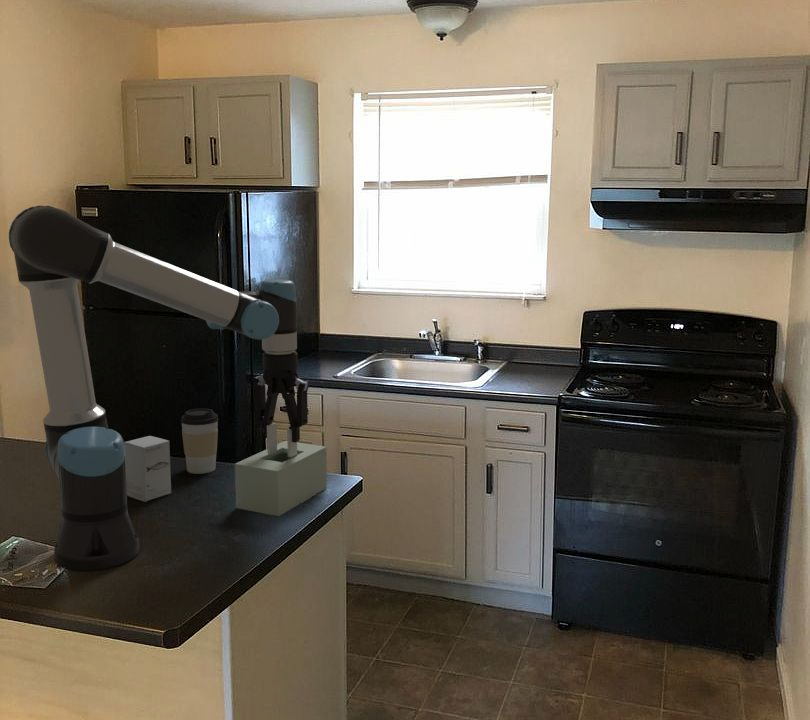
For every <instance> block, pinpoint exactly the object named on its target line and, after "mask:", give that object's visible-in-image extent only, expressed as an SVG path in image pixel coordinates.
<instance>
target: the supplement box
mask: <svg viewBox="0 0 810 720" xmlns="http://www.w3.org/2000/svg"><path fill="white" fill-rule="evenodd" d="M123 442H124V447H125V451H126V455H125V470H126V490H127V497H130V498H133V499H135V500H139V501H141V502H144V503H146V502H148V501H151V500H153V499H157V498H160V497H164V496H167V495H170V494H171V493H172V481H171V478H172V477H171V475H172V474H171V455H170V454H171V452H170V440H169V439H168V440H167V439H164V438H161V437H156V436H152V435H148V436H143V437H139V438H136V439H132V440H131V439H130V440H128V441H123Z"/></svg>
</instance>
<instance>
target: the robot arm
mask: <svg viewBox="0 0 810 720" xmlns="http://www.w3.org/2000/svg"><path fill="white" fill-rule="evenodd" d="M10 224H11V225H10V227H9V230H8V243H9V247H10V248H11V250H12V252H13V255H14V261H15V266H16V272H17V278H18V282H19V284H21V285H22V286H24V287H25V288H26V289H28V291H29V296H30V302H31V308H32V313H33V318H34V319H33V320H34V326H35V332H36V336H37V341H38V348H39V349H38V350H39V356H40V360H41V366H42V372H43V377H44V384H45V389H46V390H45V391H46V395H47V401H48V406H49V412H48V413H47V414H46V415H45V416H44V418H43V429H44V434H45V449H44V450H45V453H46V458H47V461H48V463H49V464H50V466H51V467H52V469H53V471H54V472H55V474H56V476H57V479H58V481H59V491H60V492H59V493H60V506H61V523H60V526H59V529H58V535H57V540H56V542H55V544H54V548H53V552H54V553H53V554H54V562H55V561H56V562H55V564H56V565H58V566H59V565H60V568H61V567H62V568H63V569H66V570H71V571H97V570H105V569H109V568H113V567H117V566H120V565H123V564H125V563H127V562H129V561H132V559H134V558H135V557H136V556H137V555H138V554H139V552H140V539H139V535H138V533H137V532H136V531H135V528H134V524H133V521H132V520H131V519H132V518H131V517H130V514H129V511H128V496H127V490H126V470H125V455H126V451H125V447H124V442H125V441H124V439H123V437H122V435H121V434H120V433H119V432H117V431H116V430H114V429H111V428H109V425H108V420H107V413H106V409H105V408H103V407H102V406H101V405H99V404H97V402H96V397H95V391H94V382H93V377H92V376H93V375H92V370H91V364H90V357H89V352H88V351H89V350H88V344H87V339H86V333H85V325H84V319H83V314H82V307H81V300H80V299H81V298H80V293H79V288H78V285H79V282H80V281H82V282H85V283H87V284H93V283H96V282H101V283H103V284H106V285H108V286H112V287H115V288H117V289H119V290H123V291H125V292H128V293H131V294H134V295H136V296H138V297H142V298H144V299H147V300H149V301H152V302H155V303H159V304H161V305H164V306H166V307H168V308H172V309H174V310H177V311H180V312H182V313H186V314H188V315H191V316H194V317H196V318H198V319H201V320H204V321H205V322H206V325H207V327H209V328H210V329H212V330H224V329H228V330H230V331H234V332H237V333H239V334H242V335H244V336H246V337H248V338H249V339H253V340H261V349H262V351H263V353H262V368H263V370H264V371H263V373H262V375H258V376H255V377H253V378H252V379H251V381H252V385H253V387H254V406H255V420H256V421H257V422H259V421H260V422H261V423H262V424H263V433H264V434H263V437H264V439H266V444H267V447H266V449H267V452H268V454H272V453H274V452H276V451H277V444H278V436H277V434H278V433H277V432H278V431H277V429H278V428H277V422H275V413H276V407H277V403H278V398H279V395H281V397H282V399H283V400H284V404H285V408H286V409H285V410H286V412H287V413H286V414H287V418H288V422H289V426H288V428H286V432H287V433H286V436H287V437H286V438H287V440H286V441H287V445H288V457H293V456H295V455H297V442H298V443H299V441H300V440H301V434H300V433H301V431H300V430H301V427H303V426H306V425H307V424H308V420H309V419H308V418H309V417H308V390H309V387H310V382H309V380H306V381H304V380H303V379H300V378H299V375H298V373H297V371H298V367H299V366H298V352H297V351H296V350H297V349H298V335H297V333H298V332H297V331H298V328H297V302H298V301H297V289H296V285H295V283H294V282H293V281H292V280H288V279H281V278H280V279H279V278H277V279H267V280H266V279H265V280H262V281H261V282H260V287H259V289H257V290H251V291H250V290H249V291H238V290H236V289H234V288H231V287H229V286H226V285H225V284H221V283H219V282H216V281H214V280H211V279H209V278H206V277H203V276H200V275H199V274H196V273H193V272H191V271H188V270H186V269H184V268H180V267H179V266H175V265H173V264H171V263H169V262H166V261H163V260H161V259H158V258H156V257H153V256H150V255H149V254H145V253H143V252H140V251H138V250H136V249H133V248H130V247H128V246H125V245H122V244H120V243H118V242H116V241H114V240H113V239H112V236H111V234H110V233H108V232H105V231H103V230H101V229H98V228H95V227H94V226H91V225H90V224H88V223H86V222H85V221H82V220H81V219H79V218H77V217H76V216H75V215H72V214H71V213H69V212H68V211H66V210H63V209H62V208H59V207H58V208H57V207H54V206H51V205H36V206H31V207H30V206H29V208H26V209H24V210H22V211H21V212H20V213H18V214H17V215H16V216H15V218H14V219H13V221H12V222H11V223H10ZM266 386H267V389H266ZM295 386H296V387H295ZM295 389H296V390H295ZM295 396H296V397H295Z"/></svg>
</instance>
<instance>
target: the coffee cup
mask: <svg viewBox="0 0 810 720" xmlns="http://www.w3.org/2000/svg"><path fill="white" fill-rule="evenodd" d="M218 416H219V415H218V414H217V413H215V412H214V410H213V409H211V408H192V409H189V410H186V411H185V413H184V414H183V415H182V416H181V417H180V423H181V428H182V429H181V434H182V435H181V437H182V443H183V452H184V455H185V463H186V471H187V472H188V473H190V474H194V475H195V474H196V475H198V474H199V475H200V474H201V475H202V474H209V473H211V472H213V471H215V470H216V464H217V461H216V460H217V452H218V451H217V450H218V449H217V448H218V437H219V435H218V432H219V429H218V425H219V424H218V423H219V422H218V421H219V417H218Z"/></svg>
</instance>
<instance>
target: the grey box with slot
mask: <svg viewBox="0 0 810 720" xmlns="http://www.w3.org/2000/svg"><path fill="white" fill-rule="evenodd" d="M327 468H328V467H327V446H323V445H316V444H311V443H304V442H299V441H298V442H297V455H295V456H293V457H288V445H287V440H284V441H282V442H279V443H277V451H276V452H274V453H272V454H268V452H267V448H266V449H264V450H263V451H260V452H258V453H256V454H253V455H251V456H249V457H247V458H244V459H242V460H241V461H238V462H236V463H234V482H235V484H234V485H235V508H236V509H239V510H245V511H249V512H255V513H259V514H266V515H269V516H275V517H281V516H282V515H284V514H285V513H287V512H289V511H291V510H292V509H294V508H295V507H297V506H299V505H301V504H302V503H305V502H306V501H307V500H309V499H311V498H312V496H313V497H315V496H316V495H318V494H319V493H321V492H322V491H324V490H327V487H328V486H327V485H328V484H327V483H328V482H327V481H328V480H327V476H328V474H327ZM317 493H318V494H317ZM300 503H301V504H300Z"/></svg>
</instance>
